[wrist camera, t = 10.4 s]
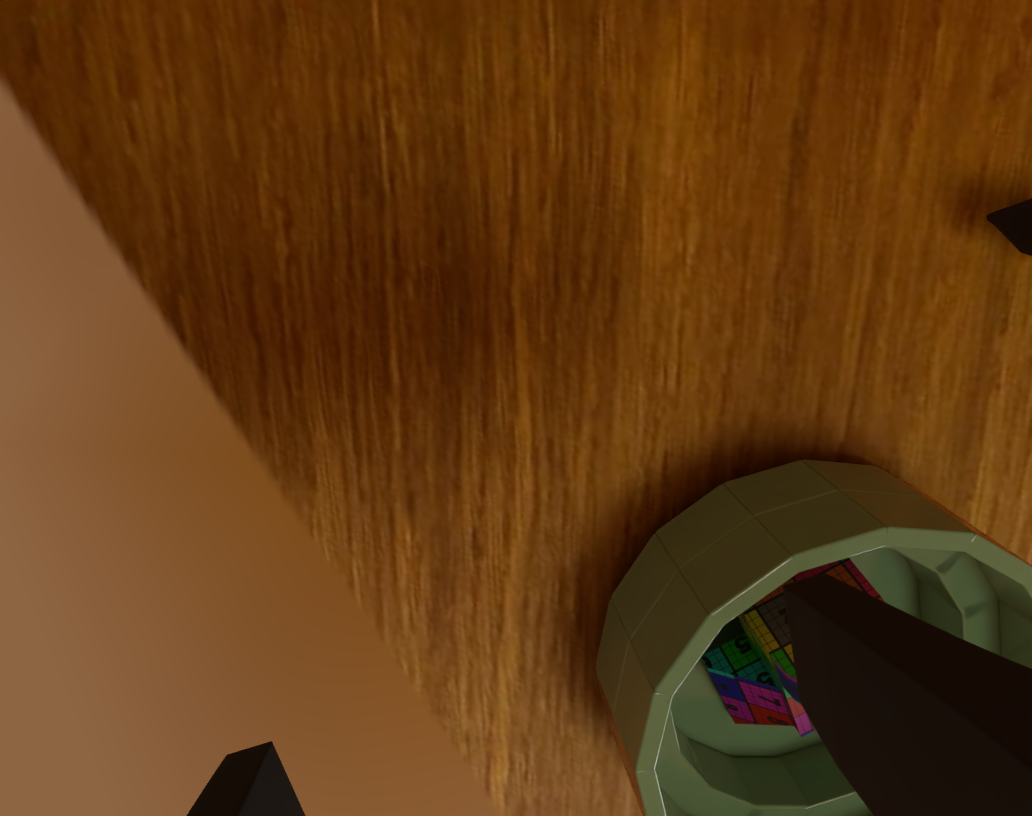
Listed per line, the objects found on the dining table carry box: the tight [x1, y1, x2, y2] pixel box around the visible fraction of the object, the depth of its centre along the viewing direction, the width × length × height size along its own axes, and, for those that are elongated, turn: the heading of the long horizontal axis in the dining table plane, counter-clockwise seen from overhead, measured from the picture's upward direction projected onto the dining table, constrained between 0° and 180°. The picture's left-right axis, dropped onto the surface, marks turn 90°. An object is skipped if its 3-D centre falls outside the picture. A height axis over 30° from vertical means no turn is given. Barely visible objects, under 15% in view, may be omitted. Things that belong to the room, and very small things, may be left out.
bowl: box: [595, 459, 1032, 816], centre depth 21 cm, size 11×11×4 cm
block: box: [701, 558, 885, 737], centre depth 20 cm, size 6×4×3 cm
